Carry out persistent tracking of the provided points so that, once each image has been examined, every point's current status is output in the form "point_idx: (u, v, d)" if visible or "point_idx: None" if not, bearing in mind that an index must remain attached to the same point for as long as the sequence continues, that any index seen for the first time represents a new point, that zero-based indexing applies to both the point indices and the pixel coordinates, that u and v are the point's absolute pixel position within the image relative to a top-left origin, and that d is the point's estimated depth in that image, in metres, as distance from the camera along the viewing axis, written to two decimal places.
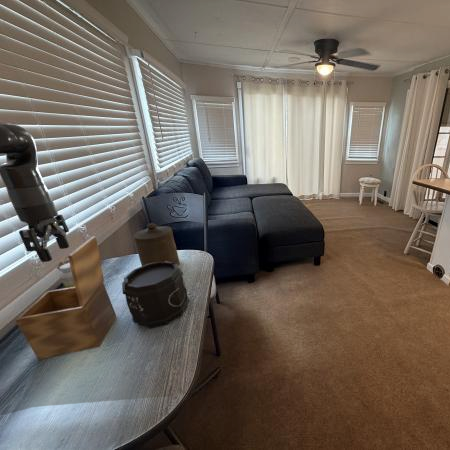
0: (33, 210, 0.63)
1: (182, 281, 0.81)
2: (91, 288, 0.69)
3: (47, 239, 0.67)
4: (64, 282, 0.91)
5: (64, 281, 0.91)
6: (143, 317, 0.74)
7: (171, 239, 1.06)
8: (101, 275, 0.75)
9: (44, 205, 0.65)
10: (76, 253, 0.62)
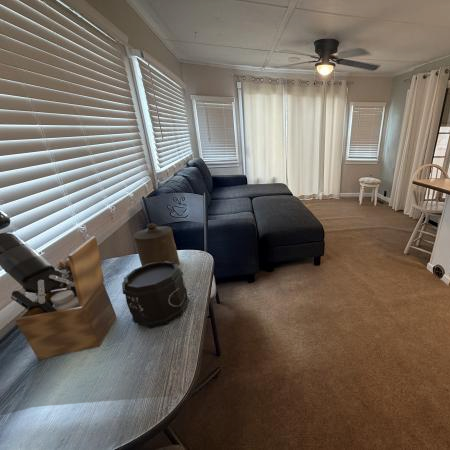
0: None
1: (182, 281, 0.81)
2: (91, 288, 0.69)
3: None
4: None
5: None
6: (143, 317, 0.74)
7: (171, 239, 1.06)
8: (101, 275, 0.75)
9: None
10: (76, 253, 0.62)
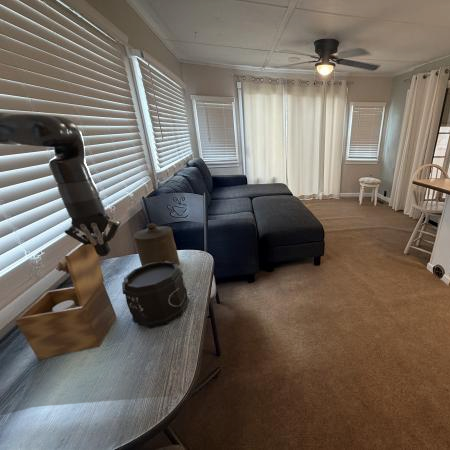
0: None
1: (182, 281, 0.81)
2: (90, 288, 0.69)
3: None
4: None
5: None
6: (143, 317, 0.74)
7: (171, 239, 1.06)
8: (101, 275, 0.75)
9: None
10: (73, 253, 0.62)
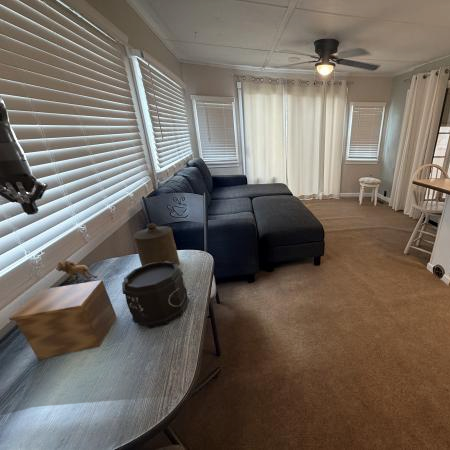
0: (27, 162, 0.73)
1: (182, 281, 0.81)
2: (81, 295, 0.69)
3: None
4: None
5: None
6: (143, 317, 0.74)
7: (171, 239, 1.06)
8: (91, 283, 0.74)
9: None
10: (16, 312, 0.63)
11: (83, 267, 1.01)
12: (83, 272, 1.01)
